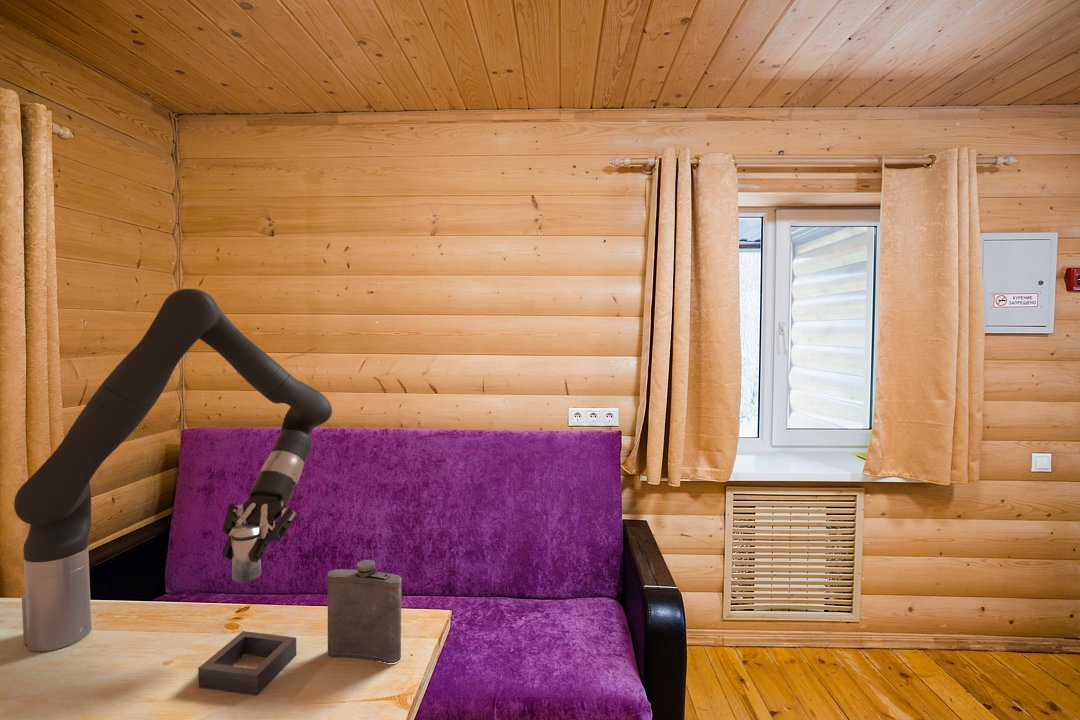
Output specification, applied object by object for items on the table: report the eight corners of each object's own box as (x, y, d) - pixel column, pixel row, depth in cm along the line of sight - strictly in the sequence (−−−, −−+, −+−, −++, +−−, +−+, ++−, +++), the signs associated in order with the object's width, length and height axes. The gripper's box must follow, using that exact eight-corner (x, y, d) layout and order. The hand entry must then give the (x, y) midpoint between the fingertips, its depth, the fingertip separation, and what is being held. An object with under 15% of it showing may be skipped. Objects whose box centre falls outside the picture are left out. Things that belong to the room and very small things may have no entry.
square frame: (198, 687, 91) (198, 667, 91) (243, 648, 102) (243, 631, 102) (257, 695, 90) (257, 675, 90) (296, 655, 101) (296, 637, 100)
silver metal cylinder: (225, 581, 100) (224, 531, 99) (243, 568, 105) (242, 521, 105) (250, 583, 100) (249, 534, 99) (267, 570, 105) (266, 523, 104)
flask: (334, 645, 104) (334, 555, 103) (404, 653, 102) (405, 562, 101) (324, 656, 100) (324, 564, 99) (397, 665, 98) (397, 571, 97)
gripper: (237, 466, 109) (193, 548, 98) (303, 471, 107) (265, 555, 96) (255, 484, 115) (215, 563, 104) (317, 488, 113) (283, 570, 102)
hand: (239, 559), depth 100 cm, fingers closed on silver metal cylinder, 4 cm apart
